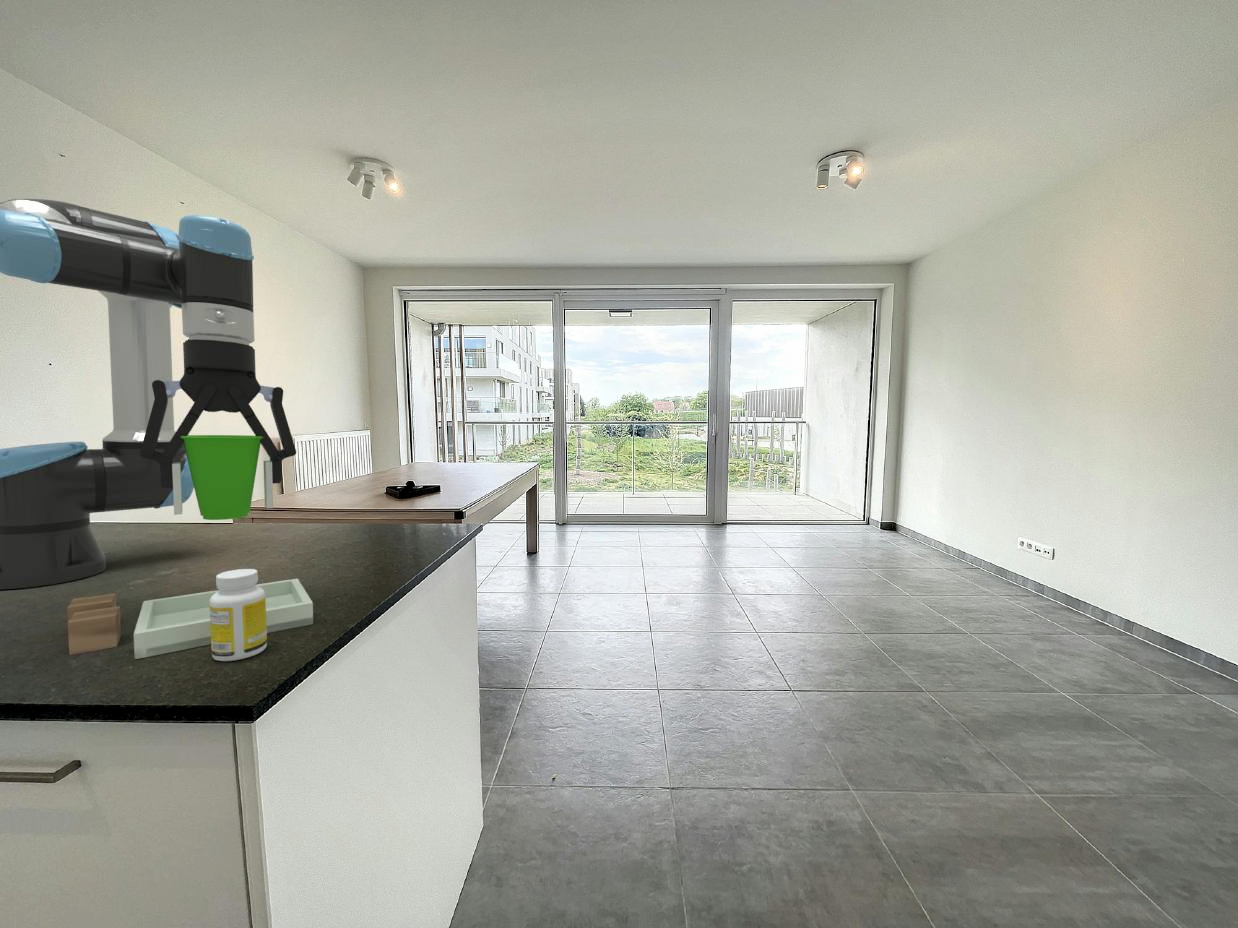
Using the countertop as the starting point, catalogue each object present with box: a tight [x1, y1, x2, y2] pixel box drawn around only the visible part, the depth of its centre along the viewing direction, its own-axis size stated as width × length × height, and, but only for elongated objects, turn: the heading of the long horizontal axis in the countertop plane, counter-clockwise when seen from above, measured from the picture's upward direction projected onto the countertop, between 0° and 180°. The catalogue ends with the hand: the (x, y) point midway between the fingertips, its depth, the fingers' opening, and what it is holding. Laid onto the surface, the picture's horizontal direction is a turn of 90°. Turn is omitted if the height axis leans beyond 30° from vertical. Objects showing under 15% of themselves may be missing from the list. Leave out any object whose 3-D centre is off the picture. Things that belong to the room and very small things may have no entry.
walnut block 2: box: [67, 605, 122, 656], centre depth 62 cm, size 4×4×4 cm
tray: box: [133, 578, 314, 660], centre depth 70 cm, size 14×18×3 cm
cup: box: [181, 434, 263, 521], centre depth 69 cm, size 9×9×11 cm
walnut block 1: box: [66, 592, 117, 623], centre depth 67 cm, size 4×4×4 cm
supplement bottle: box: [210, 568, 268, 662], centre depth 61 cm, size 5×5×10 cm
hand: (225, 509), depth 69 cm, fingers closed on cup, 9 cm apart
